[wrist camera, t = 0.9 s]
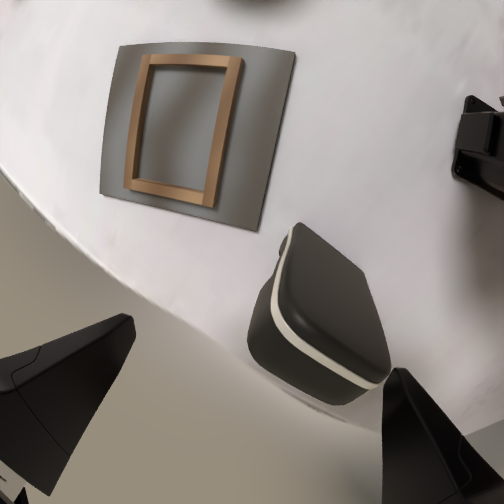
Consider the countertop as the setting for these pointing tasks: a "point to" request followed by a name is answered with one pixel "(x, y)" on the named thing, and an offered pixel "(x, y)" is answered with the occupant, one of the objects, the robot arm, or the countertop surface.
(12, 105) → the countertop surface
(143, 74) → the plate
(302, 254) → the battery charger
